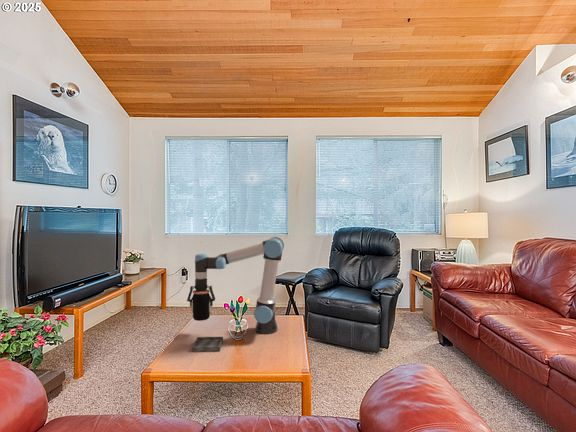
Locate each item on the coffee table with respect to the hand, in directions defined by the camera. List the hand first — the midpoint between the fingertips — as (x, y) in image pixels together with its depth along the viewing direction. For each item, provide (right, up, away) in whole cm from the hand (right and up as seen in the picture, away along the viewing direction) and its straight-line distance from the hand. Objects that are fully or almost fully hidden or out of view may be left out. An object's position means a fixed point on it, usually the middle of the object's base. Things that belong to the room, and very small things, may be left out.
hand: (201, 311), depth 219 cm
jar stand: (+9, -16, -17) cm, 25 cm away
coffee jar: (0, -5, 0) cm, 5 cm away
